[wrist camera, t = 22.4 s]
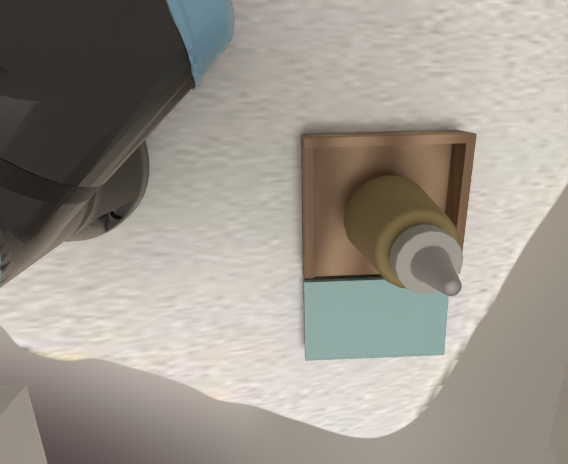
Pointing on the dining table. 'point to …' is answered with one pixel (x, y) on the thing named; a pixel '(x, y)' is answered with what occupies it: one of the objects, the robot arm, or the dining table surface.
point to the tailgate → (371, 320)
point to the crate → (369, 165)
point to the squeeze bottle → (405, 235)
